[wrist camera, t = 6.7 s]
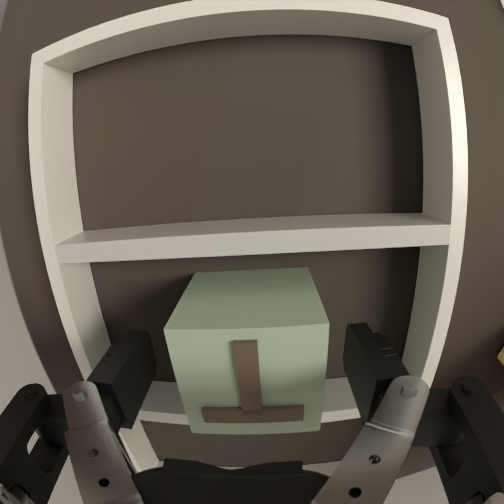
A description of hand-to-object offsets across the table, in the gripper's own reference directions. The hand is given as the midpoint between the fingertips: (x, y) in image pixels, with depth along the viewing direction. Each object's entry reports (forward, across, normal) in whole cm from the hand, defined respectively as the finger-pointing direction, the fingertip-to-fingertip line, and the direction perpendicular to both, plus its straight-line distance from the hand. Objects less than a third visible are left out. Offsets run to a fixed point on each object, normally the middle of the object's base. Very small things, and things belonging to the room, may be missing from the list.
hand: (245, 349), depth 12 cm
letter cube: (+3, 0, 0) cm, 3 cm away
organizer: (+3, 0, 0) cm, 3 cm away
